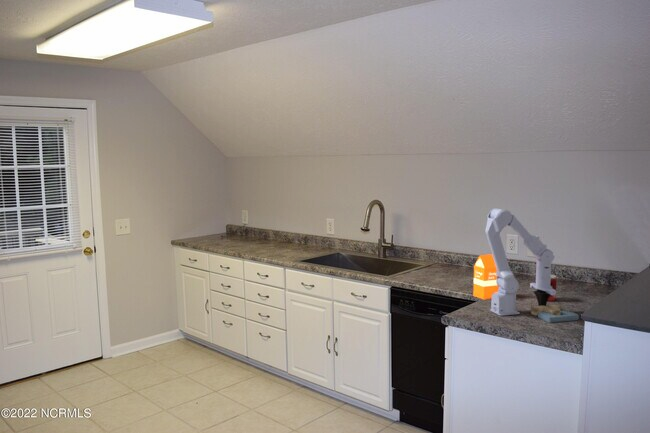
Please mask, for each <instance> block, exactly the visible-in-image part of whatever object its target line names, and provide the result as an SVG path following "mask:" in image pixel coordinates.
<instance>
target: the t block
mask: <svg viewBox="0 0 650 433" xmlns="http://www.w3.org/2000/svg"><path fill="white" fill-rule="evenodd" d="M561 307H562V306H561V305H558V304H548V305H547V304H546V305H544V306H539V305H534V306H531V308H530V314H531V315H534V316H538V313H540V312H548V313H551V314H553V315H555V316H560V314H561V311H562V309H561Z"/></svg>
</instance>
